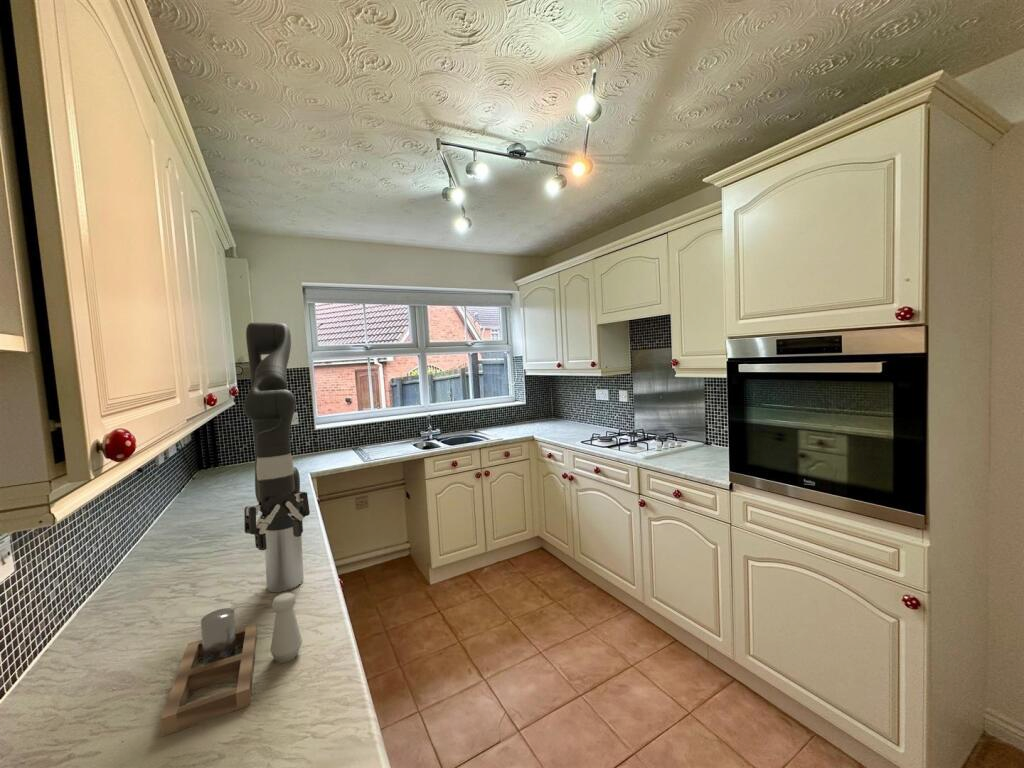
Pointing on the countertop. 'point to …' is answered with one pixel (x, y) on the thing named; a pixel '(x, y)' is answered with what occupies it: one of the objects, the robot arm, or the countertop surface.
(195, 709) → the spice rail
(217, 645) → the pepper shaker
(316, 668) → the countertop surface
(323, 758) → the countertop surface
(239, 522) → the countertop surface
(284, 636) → the salt shaker
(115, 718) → the countertop surface
